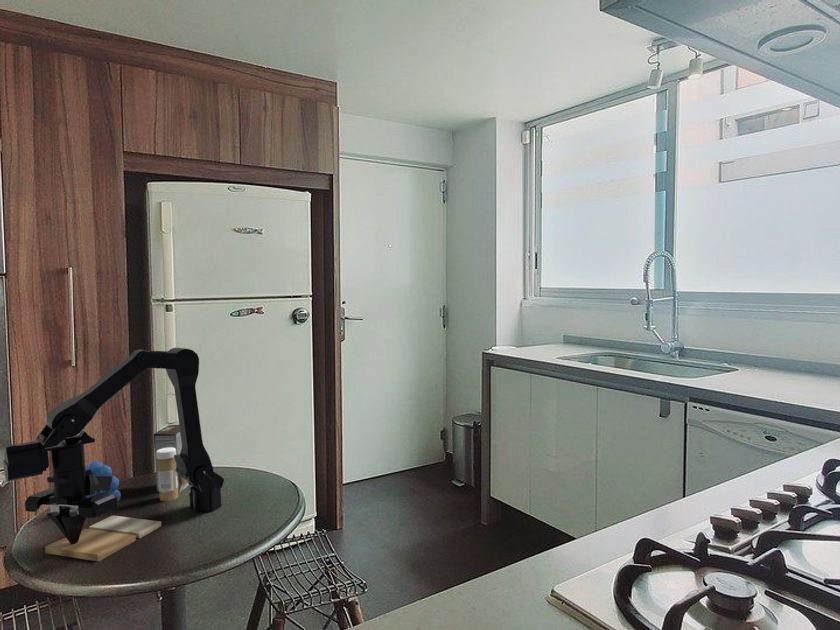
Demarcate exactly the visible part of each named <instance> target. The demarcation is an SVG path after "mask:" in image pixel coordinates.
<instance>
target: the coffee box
mask: <svg viewBox="0 0 840 630" xmlns="http://www.w3.org/2000/svg"><path fill="white" fill-rule="evenodd" d="M152 436H153V446H154V447H153V448H154V461H155V476H156V477H155V479H156V480H155V481H156V491H157V492H159V483H158V463H157V458H156V451H157V450H159V449H162V448H168V447H173V448H175V449H176V455H177V454H180V452H181V449H182V441H181V434H180V426H179V424H169V425H167V426H166V427H163V428H161V429H160V430H158V431H156V432H154V433H153V435H152ZM177 480H178V494H180V493H182V491H184V490H185V489H186V488H188V486H190V485H189V484H188V482H187V480H185V479H183V478H182V477H181V476H180V475H179V473H178V472H177Z"/></svg>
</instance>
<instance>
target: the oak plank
mask: <svg viewBox="0 0 840 630" xmlns="http://www.w3.org/2000/svg"><path fill="white" fill-rule="evenodd" d="M136 541H137V538H136V535H128V534H121V533H114V532H106V531H99V530H92V529H89V528H82V531H81V534H80V537H79V540H78V542H77V543H75V544H70V542H69V541H68V540H67V538H66V537H65V536H64V538H62V539H59V540H56V541H54V542H52V543H50V544H48V545H45V546H44V550H45V551H44V553H45V554H49V555H57V556H62V557H69V558H73V559H74V558H75V559H81V560H86V561H87V560H88V561H93V562H100V561H103V560H104V559H105V558H107V557H109V556H111V555H113V554H114V553H116V552H118V551H121V549H124V548H126V547H127V546H129V545H130V544H132V543H134V542H136Z"/></svg>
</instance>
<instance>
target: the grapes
mask: <svg viewBox="0 0 840 630" xmlns="http://www.w3.org/2000/svg"><path fill="white" fill-rule="evenodd" d="M85 466H86V469H91V471H92V472H93V475H101V476H113V478H112V483H111V488H110V491H105V490H95V492H96V493H95V494H92V495H88V496H87V497H89V498H90V497H92V496H95V495H97V494H100V493H107V494H114V495H116V496H117V497H118V502H119V501H120V499H121V494H122V493H121V492H120V490H119V489H118V487H119V485H120V480H119V479H118V477H116V476H115V475H112V473H113V471H112V470H113V469H112V467H110V466H108V465H106V464H104V465H103V464H102V463H101V462H100V461H97V460H94V461H92V462H91V463H90V464H89V465H85Z"/></svg>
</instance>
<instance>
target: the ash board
mask: <svg viewBox="0 0 840 630" xmlns="http://www.w3.org/2000/svg"><path fill="white" fill-rule="evenodd" d="M160 527H162V521H158V520H153V519H152V520H150V519H143V518H137V517H129V516H119V515H110V516H109V517H106V518H104V519H103V520H100V521H97V522H96V523H93V524H92V525H89V526H88V529H92V530H99V531H106V532H114V533H121V534H128V535H136V539H141V538H143V537H145V536H146V535H148V534H150V533H152V532H153V531H156V530H157V529H159V528H160Z"/></svg>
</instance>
